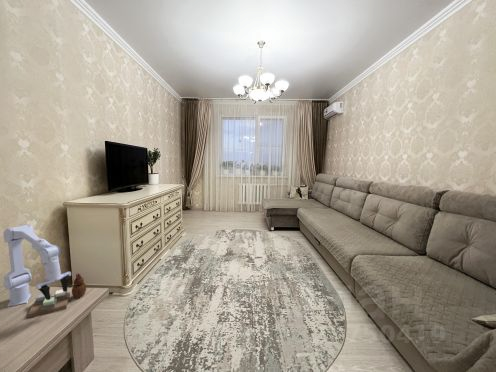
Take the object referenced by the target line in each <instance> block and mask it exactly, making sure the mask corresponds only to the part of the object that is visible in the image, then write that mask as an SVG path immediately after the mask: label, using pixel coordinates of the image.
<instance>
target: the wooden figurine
mask: <svg viewBox="0 0 496 372" xmlns="http://www.w3.org/2000/svg"><path fill="white" fill-rule="evenodd" d="M75 276H76V278H75V279H74V280H73V286H72V288H71V295H72V297H73V298H75V299H80V298H82V297H83V296H85V294H86V291H87V284H86V283H85V278H84V277H83V276H81V274H80V273H76V274H75Z"/></svg>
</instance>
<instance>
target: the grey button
mask: <svg viewBox="0 0 496 372" xmlns="http://www.w3.org/2000/svg"><path fill="white" fill-rule="evenodd" d="M36 299H37V301H39V300H44V299H46V298H45V296H44V295H43V293H39V294H38V295H37V297H36Z"/></svg>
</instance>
